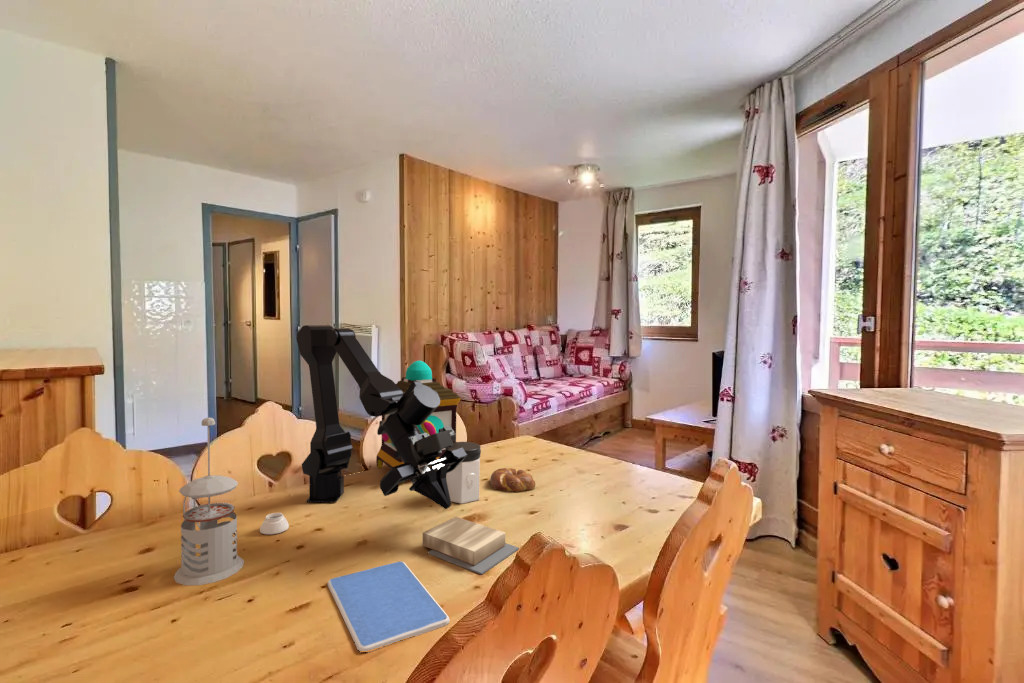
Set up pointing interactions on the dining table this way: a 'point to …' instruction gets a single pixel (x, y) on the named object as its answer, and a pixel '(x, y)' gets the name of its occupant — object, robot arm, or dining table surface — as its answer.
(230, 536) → the french press
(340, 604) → the tablet computer
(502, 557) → the mat
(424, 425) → the decorative lantern
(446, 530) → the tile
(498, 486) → the pretzel
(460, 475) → the jar
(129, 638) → the dining table surface
